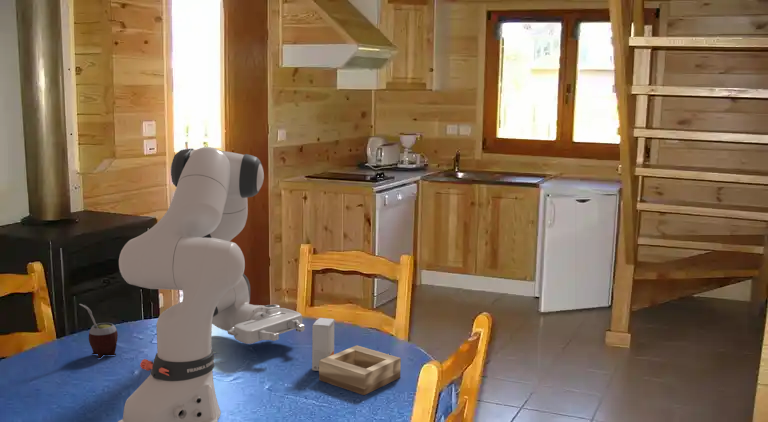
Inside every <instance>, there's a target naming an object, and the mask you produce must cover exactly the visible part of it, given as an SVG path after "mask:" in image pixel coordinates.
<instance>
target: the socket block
mask: <svg viewBox="0 0 768 422" xmlns="http://www.w3.org/2000/svg"><path fill="white" fill-rule="evenodd" d="M401 361H402V358H401V357H399V356H396V355H392V354H391V355H389V353H384V352H382V351H378V350H374V349H370V348H368V347H364V346H360V345H354V346H352V347H349V348H346V349H344V350H341V351H339V352H336V353H334V355H331V356H329V357H326V358H324V359H321V360H319V371H318V374H319V375H318V380H319V381H321V382H324V383H327V384H329V385H332V386H335V387H339V388H341V389H345V390H346V391H350V392H353V393H356V394H359V395H362V396H366V395H368V394H370V393H371V392H373V391H376V390H378V389H380V388H382V387H384V386H387V385H388V384H390V383H391V382H394V381H397V380H398V379H400V378H401V367H402V366H401Z"/></svg>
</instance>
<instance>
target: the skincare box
mask: <svg viewBox="0 0 768 422" xmlns="http://www.w3.org/2000/svg"><path fill="white" fill-rule="evenodd" d="M311 332H312V333H311V334H312V337H311V338H312V340H311V341H312V342H311V344H312V345H311V346H312V349H311V357H312V358H311V359H312V360H311V370H312V371H314V372H315V371H318V372H319V360H321V359H324V358H326V357H329V356H331V355H334V354H335V319H334V318H328V317H327V318H325V317H319V318H318V319H316V320H315V322H314V323H313V324H312V331H311Z"/></svg>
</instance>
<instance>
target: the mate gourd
mask: <svg viewBox="0 0 768 422" xmlns="http://www.w3.org/2000/svg"><path fill="white" fill-rule="evenodd" d="M78 305H80V306H81V307H82V308H85V310H87V313H88V314H89V316H90V318H91V320H92V322H93V325H92V326H91V327H90V328H89V329H90V330H89V333H88V342H89V345H90V347H91V349H92V352H91V355H92V354H98V357H96V359H97V358H101V357H102V356H103V355H116V356H117V353H116V350H117V343H118V336H119V334H118V330H117V328H116V325H114V324H113V323H110V322H100V323H96V320H95V318H94V316H93V312H92V310H91V309H90V307H88V306H87V305H85V304H82V303H78Z"/></svg>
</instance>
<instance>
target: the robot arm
mask: <svg viewBox="0 0 768 422" xmlns="http://www.w3.org/2000/svg"><path fill="white" fill-rule="evenodd" d="M170 177H171V183H172V185H174V187H175V191H174V193H173V196H172V200H171V202H170V204H169V207H168V208H167V211H166V212H165V213H164V215H163V216H162V217H161V218H160V220H158V222H156V223H155V224H154V225H153V226H152V227H151V228H150V229H148V230H147V231H145V232H143V233H142V234H140V235H138V236H136V237H134V238H131V239H129V240H128V241H127V242H126V243H125V244H124V246H123V247H122V249H121V251H120V253H119V258H118V269H119V273H120V275H121V277H122V278H123V280H124V281H125V282H126V283H127V284H129V285H132V286H135V287H140V288H145V289H148V290H149V289H150V290H168V291H169V290H170V291H171V290H172V291H173V290H175V291H176V290H177V291H181V292H182V301H181V302H178V303H176V304H174V305H172V306H170V307H168V308H166V309H165V310H164V311H162V312H161V313H160V315H158V318H157V321H156V323H155V324H156V327H155V328H156V349H157V351H156V352H157V353H156V354H155V357H154V359H153V361H151V360H149V359H147V358H146V359H145V358H144V359H142V360H141V362H140V364H139V366H140V368H141V369H142V370H145V371H150V373H149V374H150V375H148V377H147V378H145V380H144V381H143V382H142V383H141V384H140V385H139V386H138V387H137V388H136V389H135V391H133V392H132V393H131V395H130V396H128V398H127V399H126V400H125V403H124V407H123V413H122V419H120V420H118V421H117V422H218V420H219V418H220V417H221V413H222V411H221V408H220V405H219V402H218V399H217V394H216V390H215V389H216V388H215V382H214V375H213V372H214V371H213V369H214V368H215V356H214V354H215V353H214V350H213V348H212V332H213V331H212V329H213V326H214V327H215V328H216V327H217V328H218V329H220V330H222V331H226V333H227V334H228V335H230V336H233V337H234V339H235V340H236V341H239V342H240V343H243V344H246V345H248V344H249V345H251V344H256V343H257V342H261V341H272V342H273V341H278V340H279V339H280V336H279V335H282V334H284V333H287V332H291V331H293V330H295V331H296V332H299V333H300V332H304V331H305V324H303V315H302V313H300V312H298V311H295V310H293V309H289V308H285V307H281V306H280V305H279V304H275V303H273V304H267V305H266V304H265V305H261V304H260V305H259V304H251V303H250V302H251V284H250V281H249V278H248V277H247V276H246V275H245V267H246V262H245V256H244V253H243V251H242V249H241V247H240V246H239V245H238V244H237V243H236V242H233V241H232V240H233V239H234V238H235V237H237V236H238V235H239V234H240V233H241V232H242V231H243V229H244V228H245V226H246V223H247V220H248V212H249V210H248V208H249V206H248V203H249V202H248V198H252V197H255V196H256V195H257V194H258V193H260V190H261V188H262V186H263V183H264V179H265V174H264V167H263V164H262V162H261V160H260V159H259V157H257V156H256V155H255V156H254V155H253V154H252V155H251V154H248V153H245V154H242V153H237V152H232V151H227V150H225V151H224V150H220V149H219V148H218V149H217V148H216V147H209V146H208V147H207V146H205V147H200V148H197V149H194V148H185V149H181V150H179V151H178V152H176V153H175V154H174V156H173V159H172V162H171V165H170Z"/></svg>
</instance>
